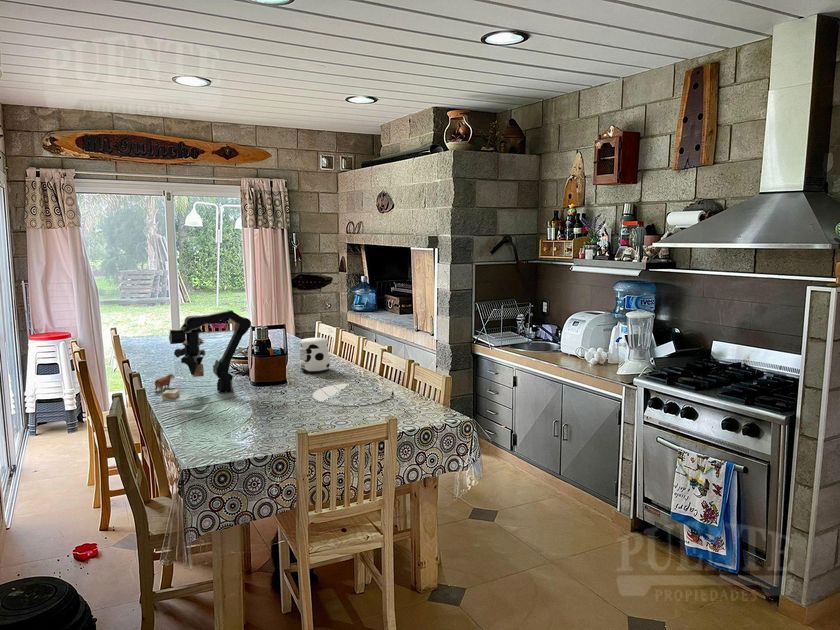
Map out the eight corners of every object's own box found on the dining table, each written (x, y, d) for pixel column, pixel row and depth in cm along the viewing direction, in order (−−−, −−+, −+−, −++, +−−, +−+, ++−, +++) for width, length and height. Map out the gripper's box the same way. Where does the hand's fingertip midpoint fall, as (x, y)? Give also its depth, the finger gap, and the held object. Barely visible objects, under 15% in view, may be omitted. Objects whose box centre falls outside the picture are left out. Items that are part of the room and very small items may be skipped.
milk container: (333, 367, 356) (332, 337, 353) (326, 374, 339) (325, 343, 336) (304, 367, 358) (303, 337, 355) (295, 374, 341) (294, 342, 338)
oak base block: (179, 395, 294) (179, 389, 293) (175, 399, 288) (174, 393, 287) (166, 396, 293) (166, 390, 293) (162, 399, 287) (162, 393, 287)
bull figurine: (177, 387, 313) (176, 372, 312) (159, 394, 300) (158, 378, 299) (170, 387, 314) (169, 371, 313) (152, 393, 301) (151, 377, 300)
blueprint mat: (191, 396, 296) (191, 394, 296) (184, 402, 286) (184, 400, 286) (166, 396, 295) (166, 394, 295) (158, 402, 286) (158, 400, 285)
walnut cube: (203, 373, 300) (203, 363, 299) (203, 376, 295) (203, 366, 295) (192, 374, 298) (192, 364, 298) (192, 376, 294) (192, 366, 293)
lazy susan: (377, 381, 324) (377, 375, 324) (407, 400, 289) (407, 393, 289) (303, 390, 307) (303, 384, 307) (325, 411, 272) (325, 404, 272)
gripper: (182, 338, 303) (184, 369, 305) (168, 346, 284) (170, 378, 287) (205, 338, 303) (206, 369, 306) (193, 345, 285) (194, 378, 287)
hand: (194, 373), depth 296 cm, fingers closed on walnut cube, 5 cm apart
